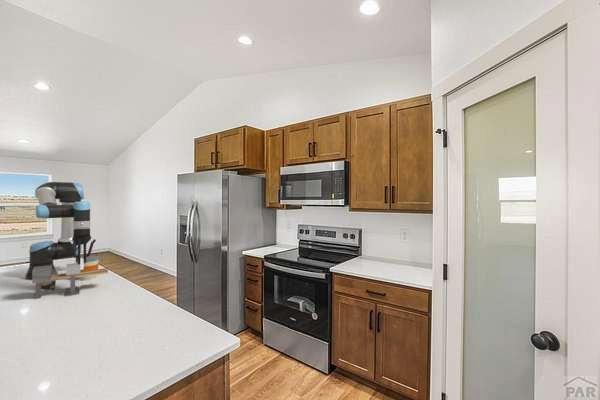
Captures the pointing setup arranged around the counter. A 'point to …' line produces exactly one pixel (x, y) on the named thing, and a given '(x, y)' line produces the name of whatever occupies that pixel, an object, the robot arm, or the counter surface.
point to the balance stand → (69, 291)
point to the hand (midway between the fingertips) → (81, 269)
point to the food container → (49, 283)
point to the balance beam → (46, 274)
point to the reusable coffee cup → (89, 265)
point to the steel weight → (72, 269)
